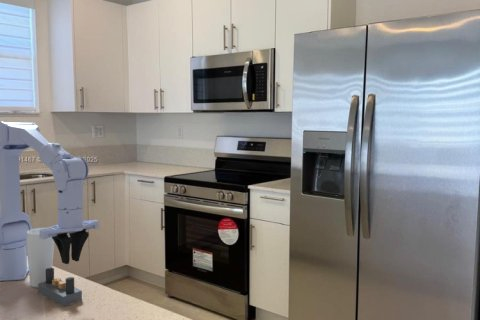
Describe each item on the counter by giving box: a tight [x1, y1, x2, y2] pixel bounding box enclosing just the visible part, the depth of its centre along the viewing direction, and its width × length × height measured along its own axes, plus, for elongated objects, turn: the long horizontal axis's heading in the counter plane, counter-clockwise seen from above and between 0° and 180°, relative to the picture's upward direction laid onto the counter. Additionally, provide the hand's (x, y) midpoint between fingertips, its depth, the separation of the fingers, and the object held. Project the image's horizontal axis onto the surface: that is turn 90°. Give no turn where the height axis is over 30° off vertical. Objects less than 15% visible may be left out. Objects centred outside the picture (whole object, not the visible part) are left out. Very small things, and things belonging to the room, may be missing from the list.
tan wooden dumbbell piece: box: [52, 277, 66, 289], centre depth 108 cm, size 4×2×1 cm, turn 53°
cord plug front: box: [65, 276, 75, 294], centre depth 105 cm, size 2×2×4 cm
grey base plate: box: [37, 278, 83, 307], centre depth 108 cm, size 12×5×2 cm, turn 53°
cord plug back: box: [46, 267, 55, 284], centre depth 110 cm, size 2×2×4 cm
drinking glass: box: [25, 227, 55, 289], centre depth 114 cm, size 7×7×15 cm
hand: (70, 261), depth 104 cm, fingers open, 2 cm apart
